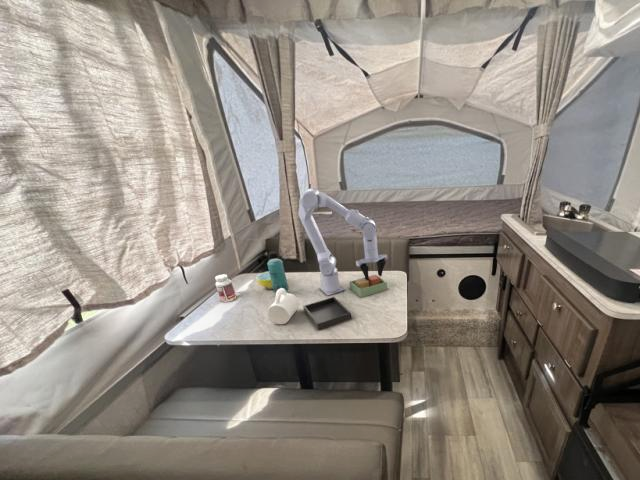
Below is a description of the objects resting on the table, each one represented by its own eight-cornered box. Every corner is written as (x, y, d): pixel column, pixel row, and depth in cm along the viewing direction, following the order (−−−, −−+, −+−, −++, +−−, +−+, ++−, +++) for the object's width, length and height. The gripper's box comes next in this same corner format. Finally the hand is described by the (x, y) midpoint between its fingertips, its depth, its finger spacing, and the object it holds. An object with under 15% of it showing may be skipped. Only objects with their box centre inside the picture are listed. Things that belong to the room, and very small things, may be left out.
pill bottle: (237, 294, 143) (229, 272, 138) (235, 300, 138) (228, 277, 132) (222, 297, 141) (214, 275, 136) (220, 303, 136) (212, 280, 131)
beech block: (356, 289, 141) (355, 280, 138) (365, 286, 143) (364, 278, 140) (360, 292, 137) (359, 283, 135) (369, 290, 139) (368, 281, 137)
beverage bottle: (277, 292, 143) (266, 250, 134) (291, 291, 144) (282, 249, 134) (273, 298, 137) (261, 255, 128) (288, 297, 138) (278, 254, 129)
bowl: (289, 284, 150) (286, 272, 147) (269, 294, 142) (266, 281, 139) (274, 280, 156) (271, 268, 153) (254, 289, 147) (250, 277, 144)
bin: (350, 288, 143) (349, 281, 141) (375, 281, 149) (375, 274, 147) (361, 297, 134) (360, 290, 133) (387, 289, 140) (386, 282, 139)
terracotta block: (368, 285, 143) (367, 277, 141) (376, 283, 145) (375, 274, 143) (372, 289, 140) (371, 280, 138) (381, 286, 142) (380, 277, 140)
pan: (304, 311, 126) (303, 305, 125) (334, 301, 132) (334, 296, 131) (318, 330, 113) (317, 324, 112) (351, 318, 119) (351, 313, 118)
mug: (270, 324, 118) (262, 296, 112) (281, 310, 127) (274, 284, 121) (291, 324, 117) (284, 296, 111) (301, 311, 126) (295, 284, 121)
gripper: (359, 254, 128) (363, 284, 134) (389, 247, 135) (391, 276, 141) (352, 250, 133) (356, 279, 140) (381, 243, 140) (384, 271, 146)
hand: (373, 277), depth 141 cm, fingers open, 6 cm apart
